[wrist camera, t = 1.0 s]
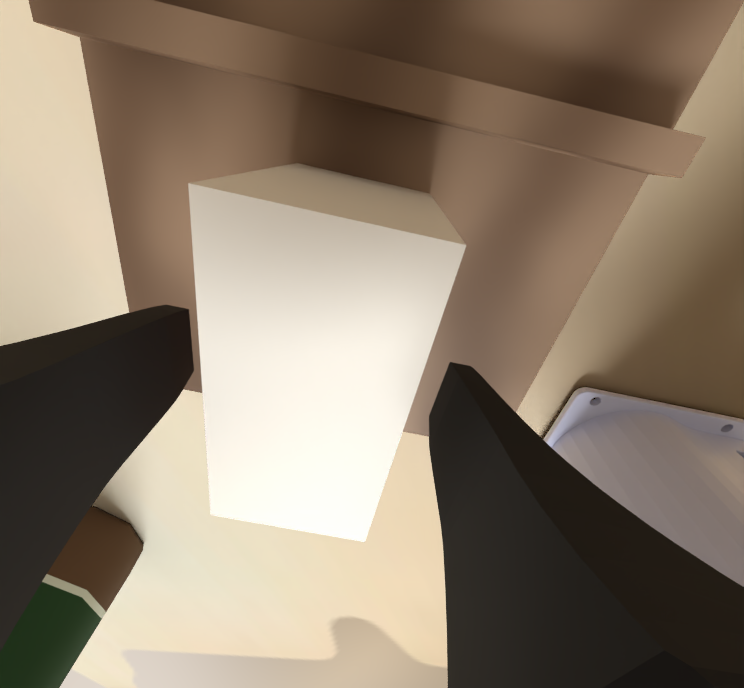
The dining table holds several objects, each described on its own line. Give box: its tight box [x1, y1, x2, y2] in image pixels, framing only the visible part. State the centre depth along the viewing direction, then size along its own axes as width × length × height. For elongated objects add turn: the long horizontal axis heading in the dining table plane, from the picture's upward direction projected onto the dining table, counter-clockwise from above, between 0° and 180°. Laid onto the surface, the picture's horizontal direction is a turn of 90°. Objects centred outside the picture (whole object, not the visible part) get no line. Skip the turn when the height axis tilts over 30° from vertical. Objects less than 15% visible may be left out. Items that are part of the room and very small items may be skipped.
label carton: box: [188, 163, 466, 542], centre depth 11 cm, size 9×5×7 cm, turn 169°
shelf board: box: [29, 0, 744, 436], centre depth 12 cm, size 18×22×3 cm
